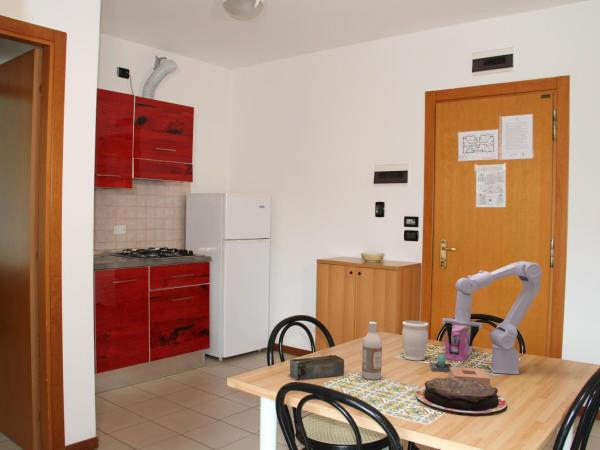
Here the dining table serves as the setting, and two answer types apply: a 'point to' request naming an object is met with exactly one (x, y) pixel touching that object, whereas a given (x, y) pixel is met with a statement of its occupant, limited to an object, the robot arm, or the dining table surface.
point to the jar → (415, 339)
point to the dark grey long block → (316, 367)
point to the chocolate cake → (461, 396)
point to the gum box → (458, 343)
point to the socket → (470, 374)
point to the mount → (440, 369)
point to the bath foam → (372, 354)
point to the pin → (441, 358)
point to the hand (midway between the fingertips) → (459, 344)
